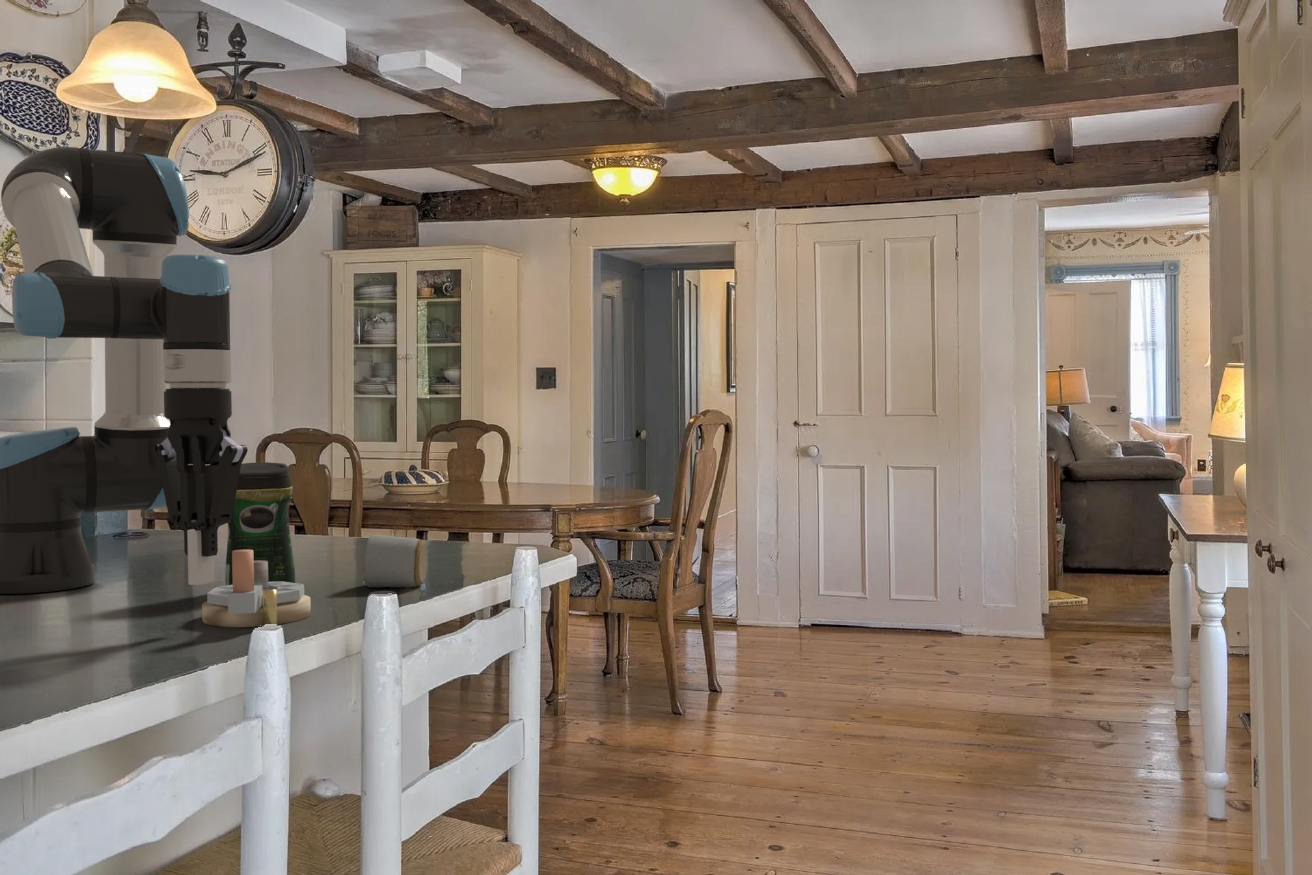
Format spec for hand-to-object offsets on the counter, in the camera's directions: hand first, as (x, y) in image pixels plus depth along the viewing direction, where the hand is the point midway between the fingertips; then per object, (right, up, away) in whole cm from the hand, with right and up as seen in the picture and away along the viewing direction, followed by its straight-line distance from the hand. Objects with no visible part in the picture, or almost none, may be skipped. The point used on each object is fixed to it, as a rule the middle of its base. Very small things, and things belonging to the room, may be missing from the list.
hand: (201, 582), depth 139 cm
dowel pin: (+8, -6, +1) cm, 10 cm away
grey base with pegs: (+4, -3, +5) cm, 8 cm away
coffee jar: (-2, -5, +28) cm, 28 cm away
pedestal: (+4, -5, +8) cm, 10 cm away
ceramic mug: (+16, -5, +32) cm, 36 cm away
